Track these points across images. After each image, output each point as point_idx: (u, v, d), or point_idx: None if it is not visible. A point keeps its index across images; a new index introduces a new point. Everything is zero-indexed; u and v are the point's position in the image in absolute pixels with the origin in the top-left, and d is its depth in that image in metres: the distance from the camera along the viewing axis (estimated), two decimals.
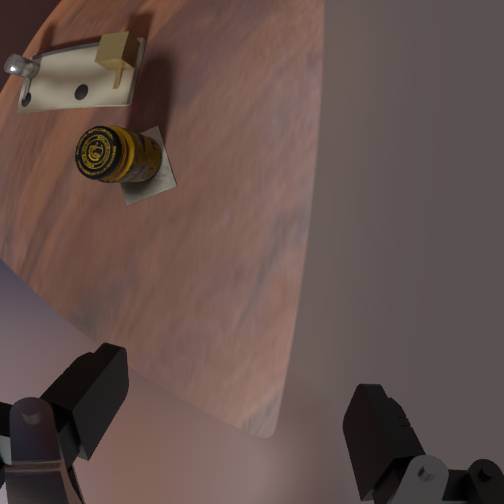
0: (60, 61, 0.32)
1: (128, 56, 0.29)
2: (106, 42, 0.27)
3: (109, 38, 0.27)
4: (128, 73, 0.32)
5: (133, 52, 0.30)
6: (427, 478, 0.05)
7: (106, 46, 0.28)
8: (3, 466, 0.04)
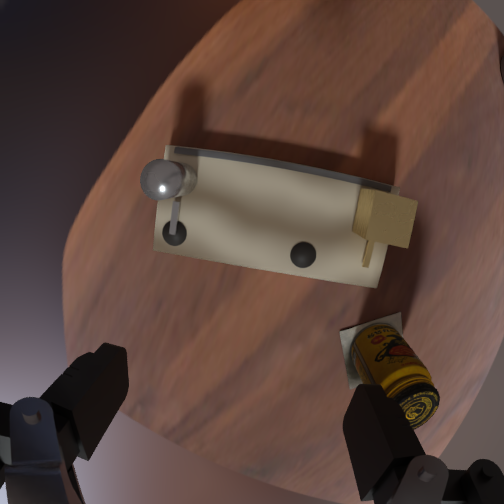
0: (250, 182, 0.26)
1: None
2: (384, 209, 0.22)
3: (388, 203, 0.22)
4: (381, 244, 0.27)
5: None
6: (427, 478, 0.05)
7: (384, 217, 0.22)
8: (3, 466, 0.04)
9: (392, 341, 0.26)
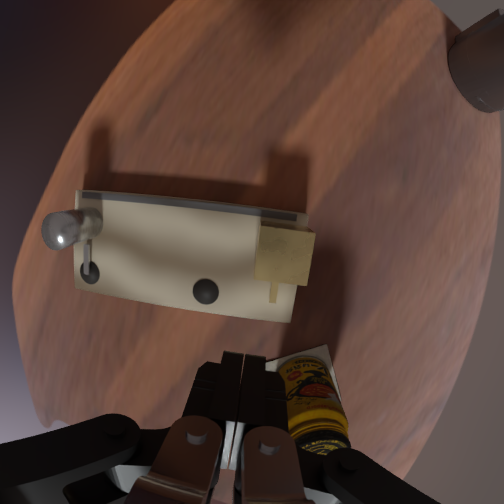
0: (148, 222, 0.26)
1: None
2: (273, 246, 0.22)
3: (278, 239, 0.22)
4: None
5: None
6: (262, 449, 0.06)
7: (274, 255, 0.22)
8: (120, 498, 0.05)
9: (307, 379, 0.26)
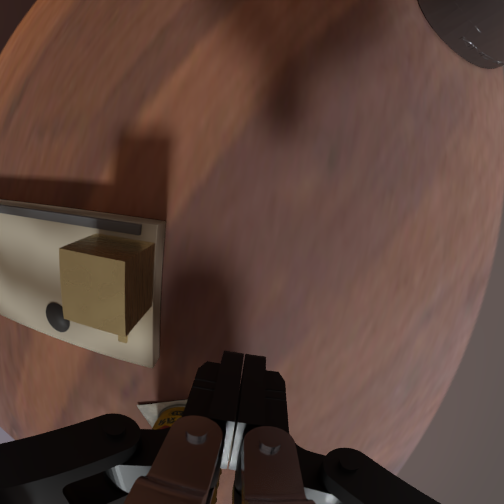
0: (3, 233, 0.18)
1: (137, 307, 0.15)
2: (75, 277, 0.13)
3: (79, 267, 0.13)
4: None
5: (144, 284, 0.16)
6: (262, 449, 0.06)
7: (79, 289, 0.14)
8: (120, 498, 0.05)
9: None
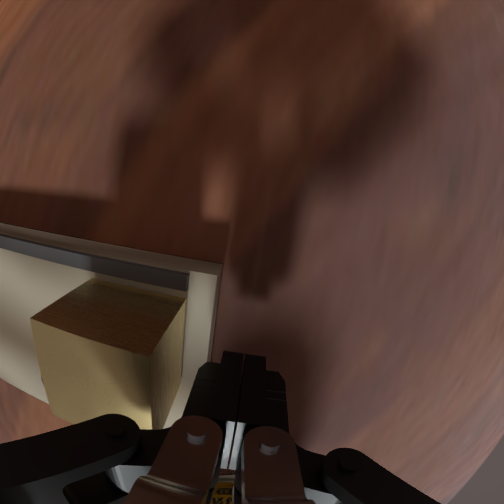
0: None
1: (166, 401, 0.09)
2: (62, 367, 0.07)
3: (67, 354, 0.07)
4: (186, 392, 0.12)
5: (173, 365, 0.10)
6: (262, 449, 0.06)
7: (70, 384, 0.07)
8: (120, 498, 0.05)
9: None
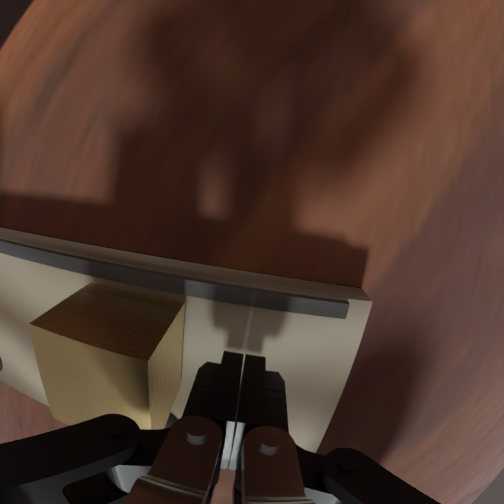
0: (43, 295, 0.11)
1: (166, 405, 0.09)
2: (62, 371, 0.07)
3: (66, 359, 0.07)
4: (317, 412, 0.12)
5: (172, 368, 0.10)
6: (262, 449, 0.06)
7: (70, 388, 0.07)
8: (120, 498, 0.05)
9: None
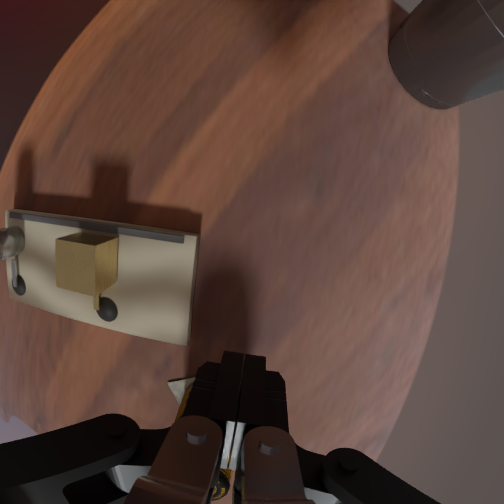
0: None
1: (105, 279, 0.23)
2: (65, 257, 0.20)
3: (68, 251, 0.20)
4: (181, 300, 0.25)
5: (110, 264, 0.23)
6: (262, 449, 0.06)
7: (67, 265, 0.21)
8: (120, 498, 0.05)
9: None
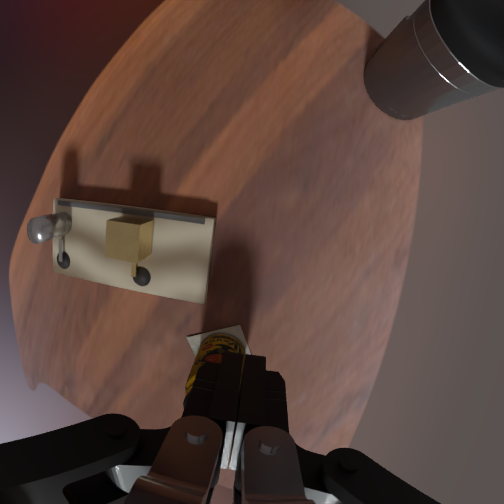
0: (101, 223, 0.34)
1: (144, 250, 0.31)
2: (114, 234, 0.29)
3: (117, 229, 0.29)
4: (201, 267, 0.34)
5: (147, 239, 0.32)
6: (262, 449, 0.06)
7: (115, 240, 0.30)
8: (120, 498, 0.05)
9: (214, 350, 0.33)
